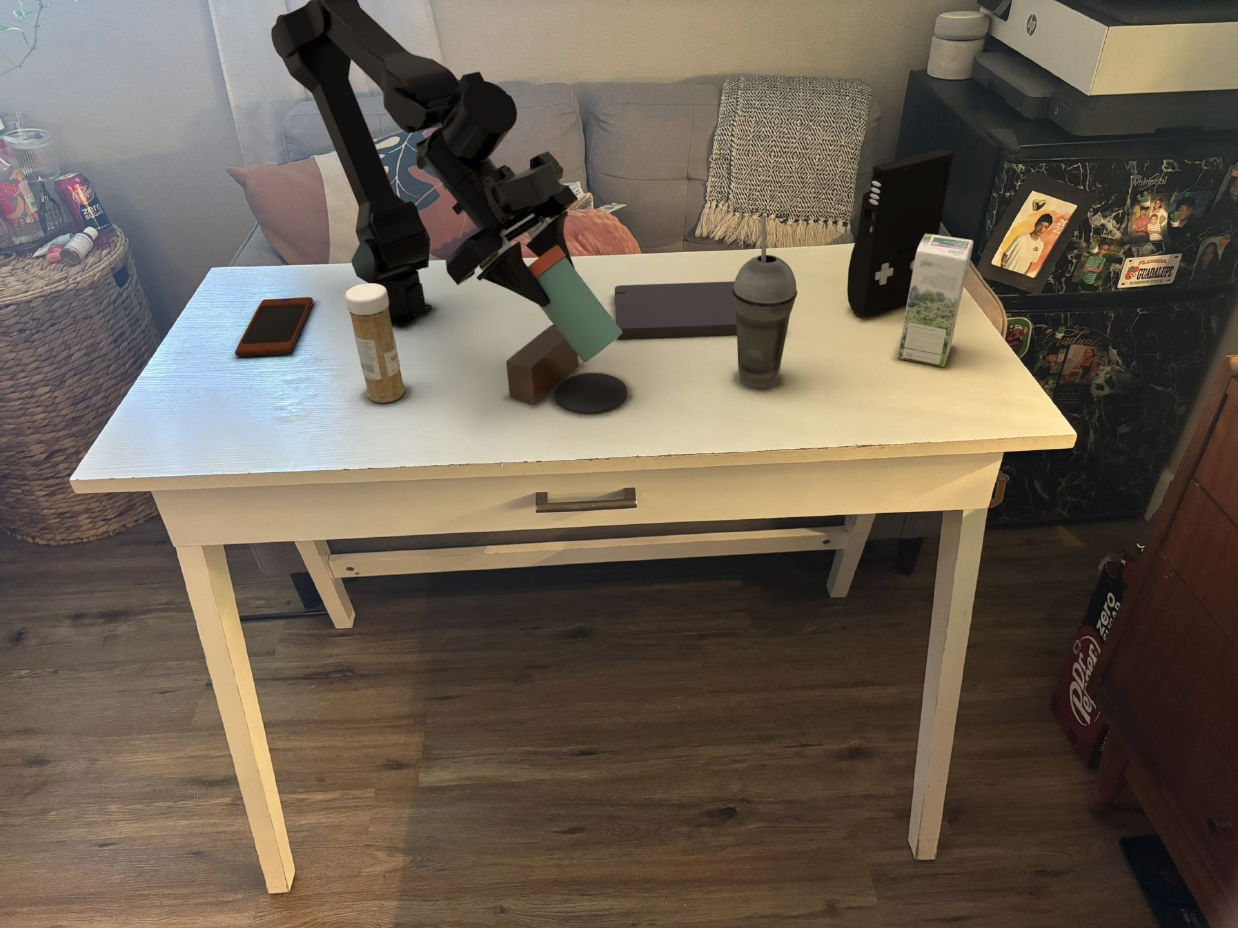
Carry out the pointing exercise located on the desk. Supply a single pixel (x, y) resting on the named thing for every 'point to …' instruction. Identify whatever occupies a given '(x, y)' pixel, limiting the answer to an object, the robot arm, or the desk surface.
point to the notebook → (675, 310)
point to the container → (573, 305)
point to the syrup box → (934, 298)
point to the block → (540, 366)
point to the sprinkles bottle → (375, 341)
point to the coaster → (590, 393)
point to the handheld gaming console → (895, 229)
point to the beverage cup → (762, 315)
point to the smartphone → (274, 327)
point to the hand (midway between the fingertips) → (561, 294)
